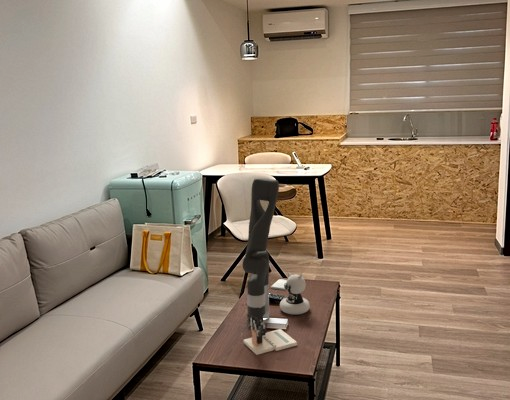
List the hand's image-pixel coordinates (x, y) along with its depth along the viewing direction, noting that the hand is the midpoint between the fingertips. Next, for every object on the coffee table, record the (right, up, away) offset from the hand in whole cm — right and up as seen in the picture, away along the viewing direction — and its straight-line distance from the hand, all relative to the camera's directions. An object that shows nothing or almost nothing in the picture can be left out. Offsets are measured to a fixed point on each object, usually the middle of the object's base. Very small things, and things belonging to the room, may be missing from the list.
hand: (257, 340), depth 224 cm
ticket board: (+9, -2, +5) cm, 11 cm away
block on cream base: (0, -3, +1) cm, 3 cm away
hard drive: (+14, +12, +68) cm, 71 cm away
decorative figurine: (+19, +5, +36) cm, 41 cm away
